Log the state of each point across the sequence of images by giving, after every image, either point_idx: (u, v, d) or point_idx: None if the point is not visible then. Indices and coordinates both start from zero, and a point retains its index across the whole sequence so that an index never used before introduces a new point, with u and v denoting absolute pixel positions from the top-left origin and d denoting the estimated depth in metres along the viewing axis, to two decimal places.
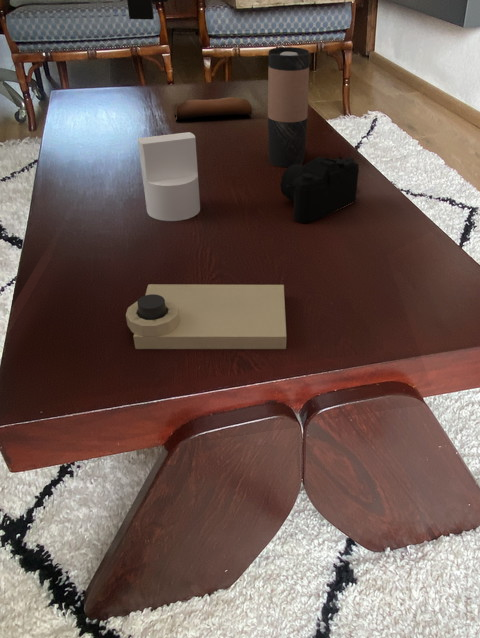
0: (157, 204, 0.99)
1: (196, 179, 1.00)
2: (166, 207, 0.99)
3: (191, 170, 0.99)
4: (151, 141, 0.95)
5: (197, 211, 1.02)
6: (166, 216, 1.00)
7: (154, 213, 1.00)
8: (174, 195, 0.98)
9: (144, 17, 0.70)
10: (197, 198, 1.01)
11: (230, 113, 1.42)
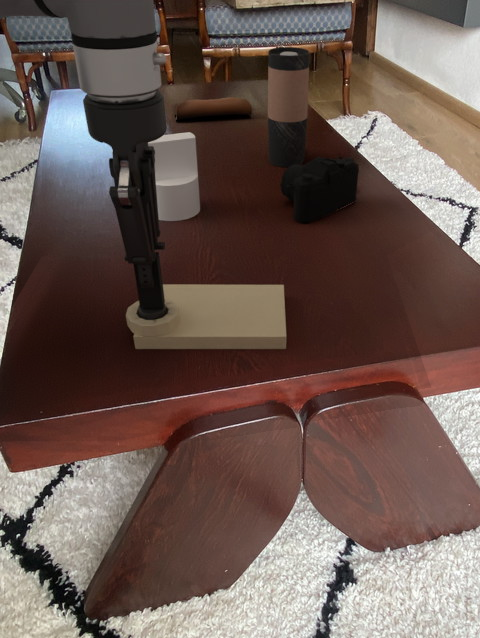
0: (157, 204, 0.99)
1: (196, 179, 1.00)
2: (166, 207, 0.99)
3: (191, 170, 0.99)
4: (151, 141, 0.95)
5: (197, 211, 1.02)
6: (166, 216, 1.00)
7: None
8: (174, 195, 0.98)
9: (154, 306, 0.71)
10: (197, 198, 1.01)
11: (230, 113, 1.42)
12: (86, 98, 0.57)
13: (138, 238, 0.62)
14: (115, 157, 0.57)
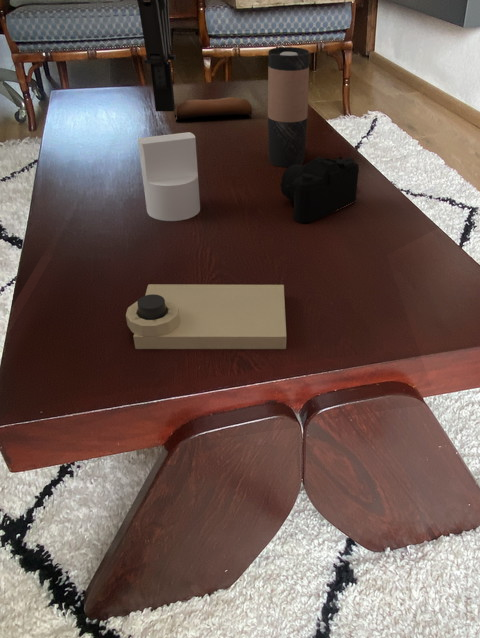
0: (157, 204, 0.99)
1: (196, 179, 1.00)
2: (166, 207, 0.99)
3: (191, 170, 0.99)
4: (151, 141, 0.95)
5: (197, 211, 1.02)
6: (166, 216, 1.00)
7: (154, 213, 1.00)
8: (174, 195, 0.98)
9: (167, 110, 0.91)
10: (197, 198, 1.01)
11: (230, 113, 1.42)
12: None
13: (155, 35, 0.82)
14: None
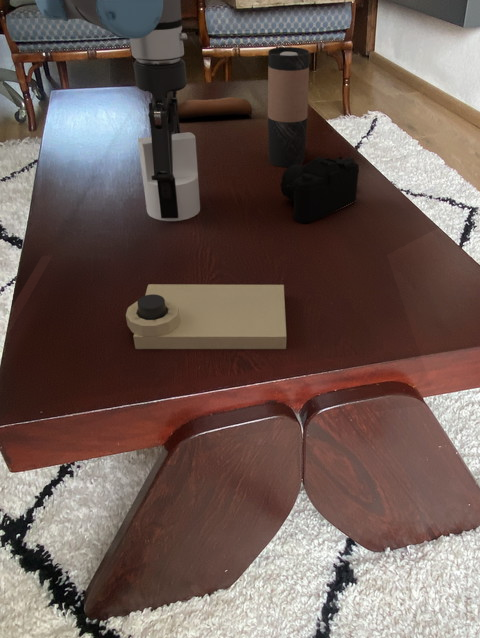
0: (157, 204, 0.99)
1: (196, 179, 1.00)
2: None
3: (191, 170, 0.99)
4: (151, 141, 0.95)
5: (197, 211, 1.02)
6: None
7: (154, 213, 1.00)
8: None
9: (171, 217, 0.99)
10: (197, 198, 1.01)
11: (230, 113, 1.42)
12: (136, 62, 0.88)
13: (163, 154, 0.90)
14: (154, 100, 0.89)
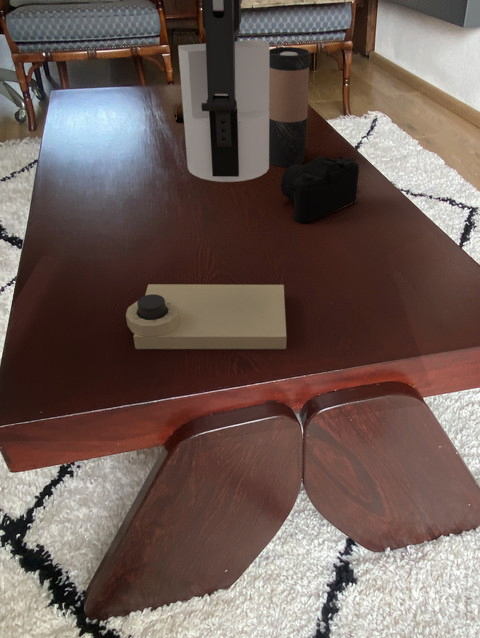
0: (206, 154, 0.62)
1: (268, 116, 0.63)
2: None
3: (260, 101, 0.63)
4: (201, 48, 0.58)
5: (266, 168, 0.66)
6: None
7: (201, 169, 0.64)
8: None
9: (229, 174, 0.63)
10: (267, 147, 0.65)
11: None
12: None
13: (224, 64, 0.54)
14: None
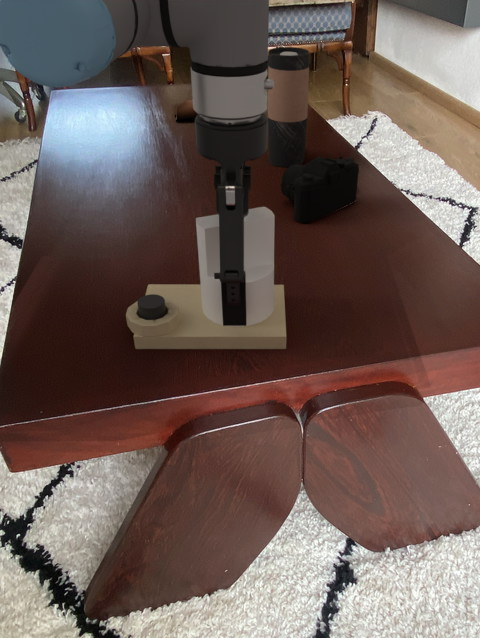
0: (219, 305, 0.72)
1: (273, 270, 0.73)
2: None
3: (266, 258, 0.72)
4: (215, 223, 0.68)
5: (271, 310, 0.75)
6: None
7: (214, 316, 0.73)
8: None
9: (238, 324, 0.70)
10: (272, 294, 0.74)
11: None
12: (199, 119, 0.61)
13: (235, 246, 0.62)
14: (223, 173, 0.62)
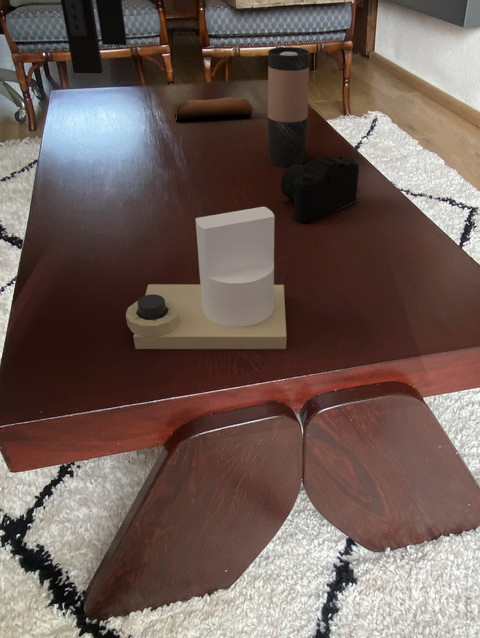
0: (219, 305, 0.72)
1: (273, 270, 0.73)
2: (231, 310, 0.72)
3: (266, 258, 0.72)
4: (215, 224, 0.68)
5: (271, 310, 0.75)
6: (231, 321, 0.73)
7: (214, 316, 0.73)
8: (244, 295, 0.71)
9: (91, 71, 0.60)
10: (272, 294, 0.74)
11: (230, 113, 1.42)
12: None
13: None
14: None
